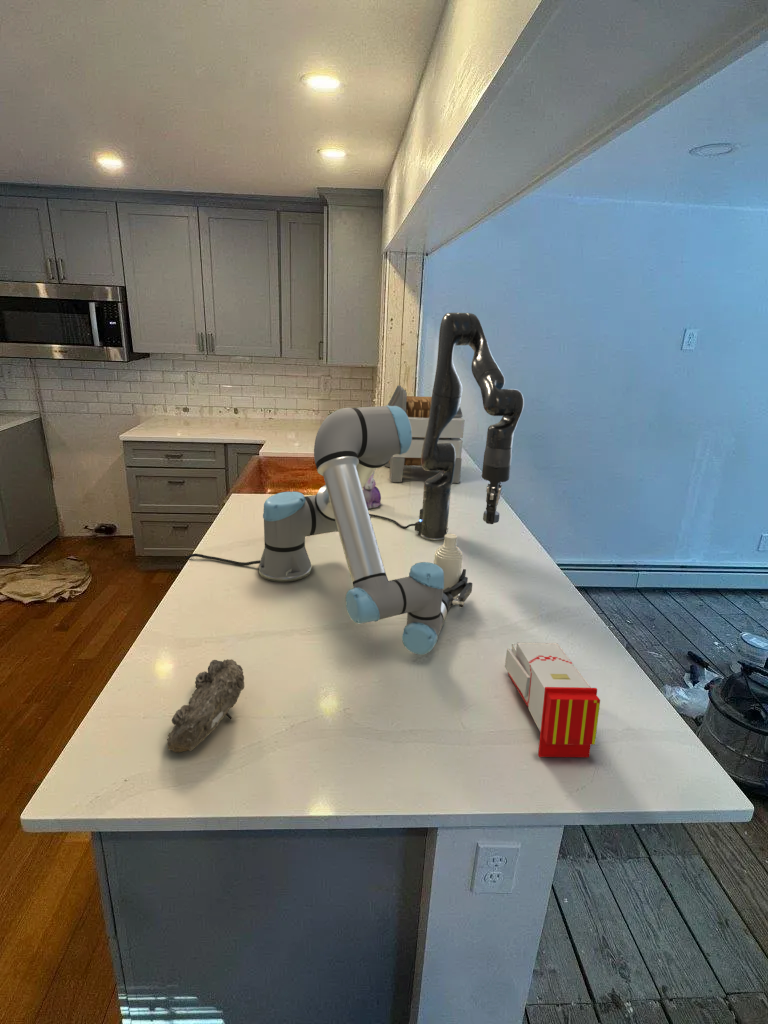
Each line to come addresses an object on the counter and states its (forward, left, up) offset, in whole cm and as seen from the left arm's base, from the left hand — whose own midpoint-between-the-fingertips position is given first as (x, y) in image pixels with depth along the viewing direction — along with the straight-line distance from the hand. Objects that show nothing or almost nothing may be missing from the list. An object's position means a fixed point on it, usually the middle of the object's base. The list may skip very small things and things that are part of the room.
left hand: (449, 571), depth 158 cm
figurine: (-43, +61, -7) cm, 75 cm away
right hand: (+9, +11, +12) cm, 19 cm away
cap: (+9, +11, +15) cm, 20 cm away
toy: (+27, -42, -7) cm, 51 cm away
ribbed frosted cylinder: (0, -5, -6) cm, 8 cm away
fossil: (-33, -67, -7) cm, 75 cm away
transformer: (-36, +116, -7) cm, 122 cm away
